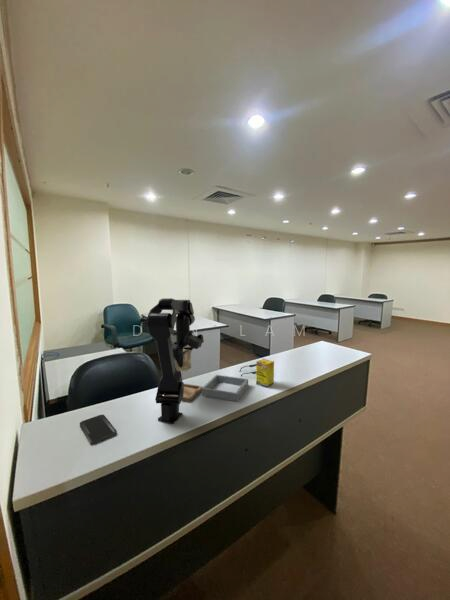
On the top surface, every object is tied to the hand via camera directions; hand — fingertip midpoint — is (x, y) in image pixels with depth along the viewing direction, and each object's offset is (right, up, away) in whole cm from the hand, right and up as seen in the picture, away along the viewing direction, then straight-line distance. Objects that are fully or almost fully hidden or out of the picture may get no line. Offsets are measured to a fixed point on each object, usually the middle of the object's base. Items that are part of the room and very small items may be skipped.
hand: (183, 365), depth 106 cm
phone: (-25, -15, -24) cm, 37 cm away
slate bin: (+18, -12, +4) cm, 22 cm away
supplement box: (+36, -12, +10) cm, 39 cm away
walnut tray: (0, -12, +1) cm, 12 cm away
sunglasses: (+31, -11, +23) cm, 40 cm away
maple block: (0, -2, 0) cm, 2 cm away
